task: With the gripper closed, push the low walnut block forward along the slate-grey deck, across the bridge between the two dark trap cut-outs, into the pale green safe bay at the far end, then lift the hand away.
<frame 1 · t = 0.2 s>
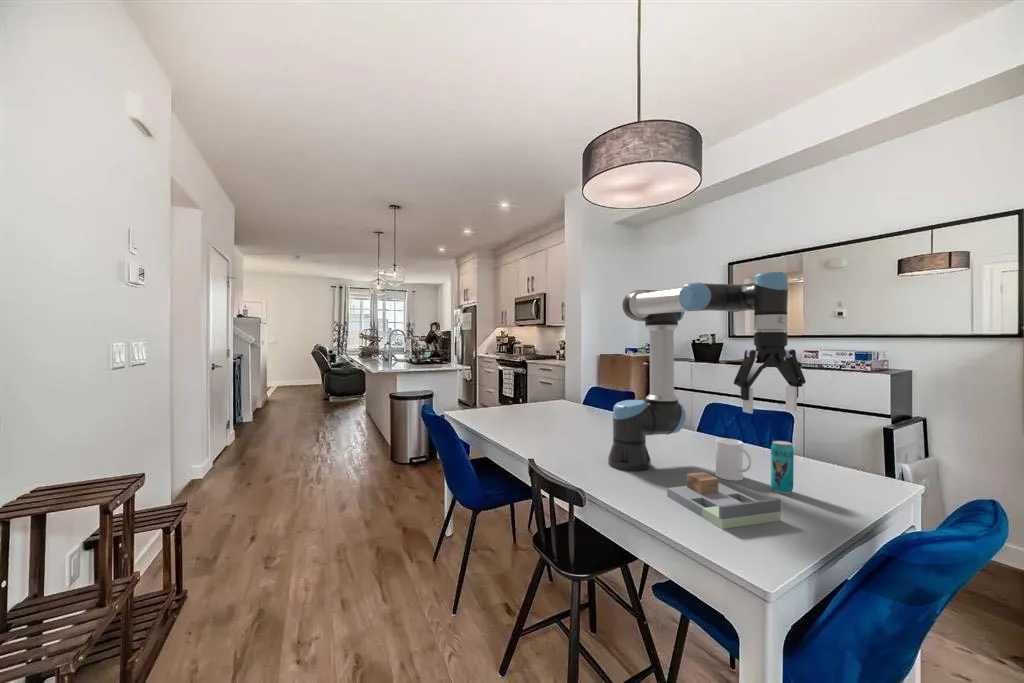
hand: (769, 411, 111), 28 cm above the table, fingers open, 13 cm apart
beverage can: (781, 492, 128), on the table
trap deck: (719, 507, 116), on the table
mug: (733, 478, 140), on the table
block: (702, 489, 123), point 2 cm above the table, touching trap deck
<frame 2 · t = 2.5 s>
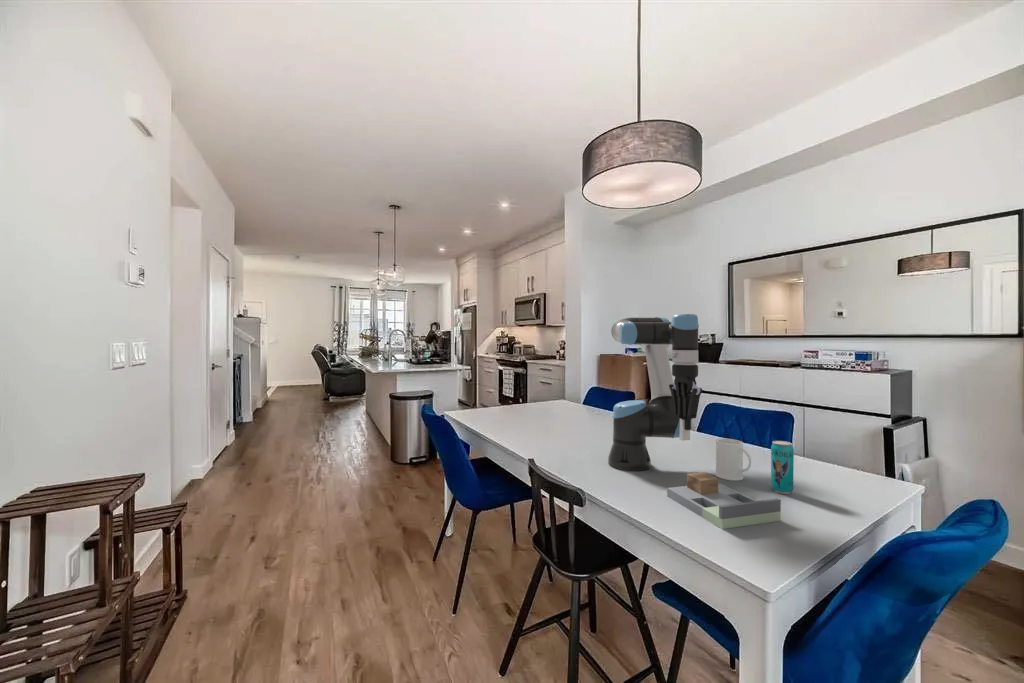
hand: (684, 439, 130), 15 cm above the table, fingers closed
nothing on the table moved.
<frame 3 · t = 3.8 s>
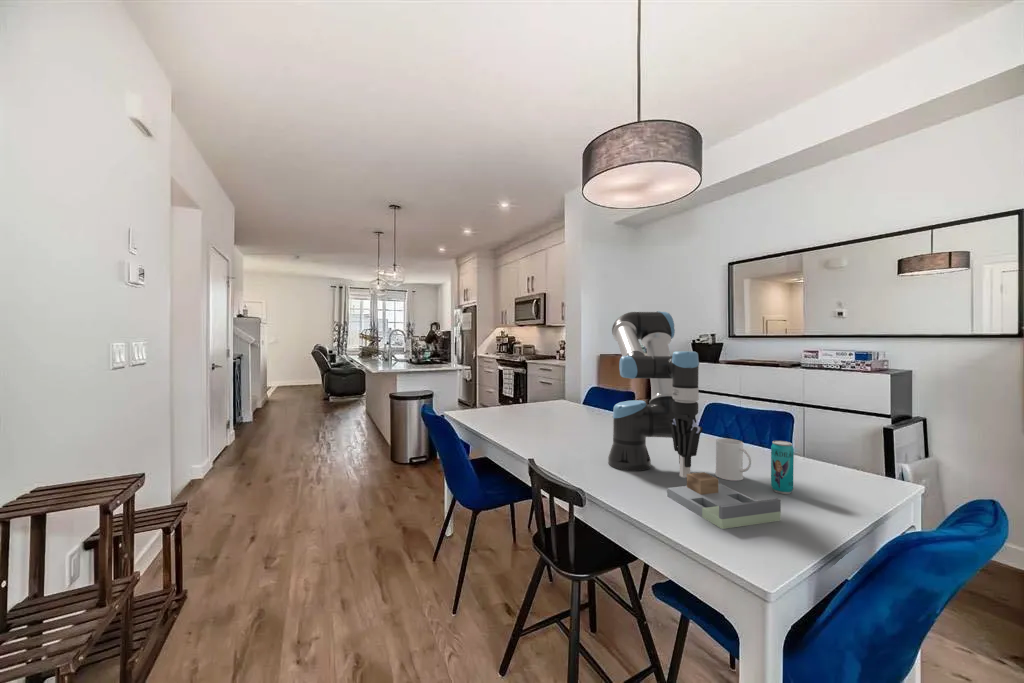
hand: (684, 476, 130), 4 cm above the table, fingers closed
nothing on the table moved.
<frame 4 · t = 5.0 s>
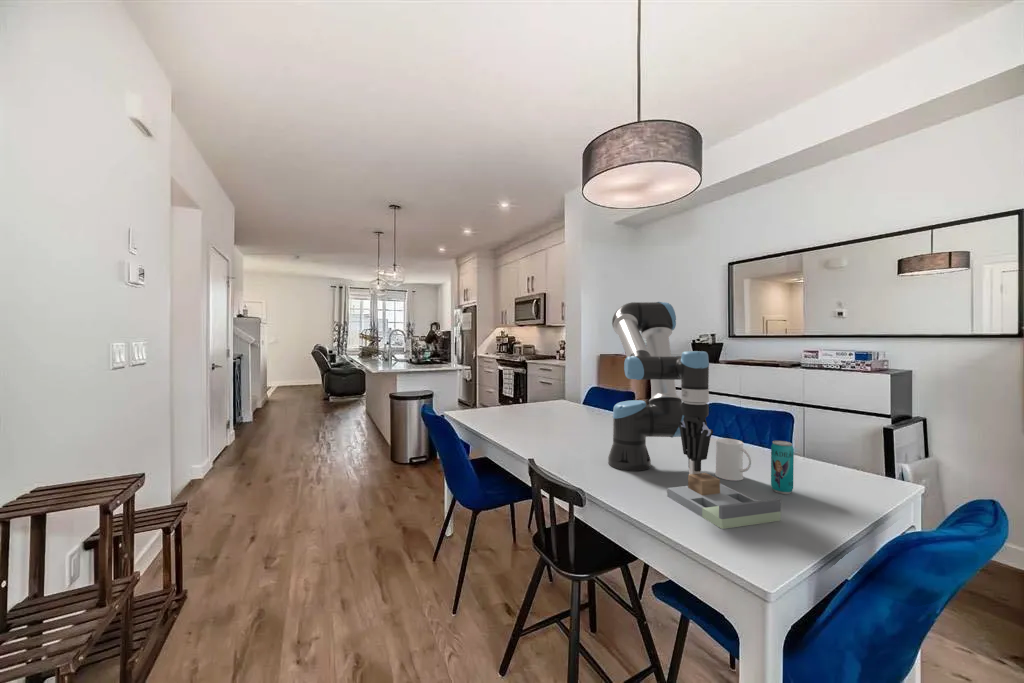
hand: (694, 480, 126), 4 cm above the table, fingers closed
nothing on the table moved.
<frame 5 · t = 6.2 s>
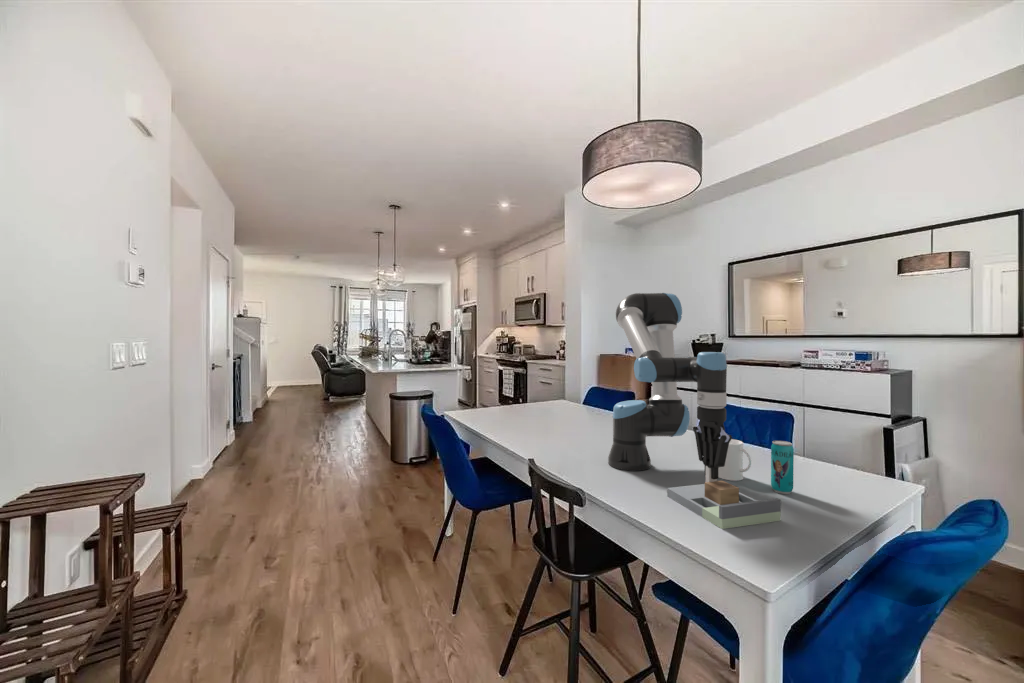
hand: (711, 488, 119), 4 cm above the table, fingers closed
block: (721, 499, 116), point 2 cm above the table, touching gripper
everything else where it was.
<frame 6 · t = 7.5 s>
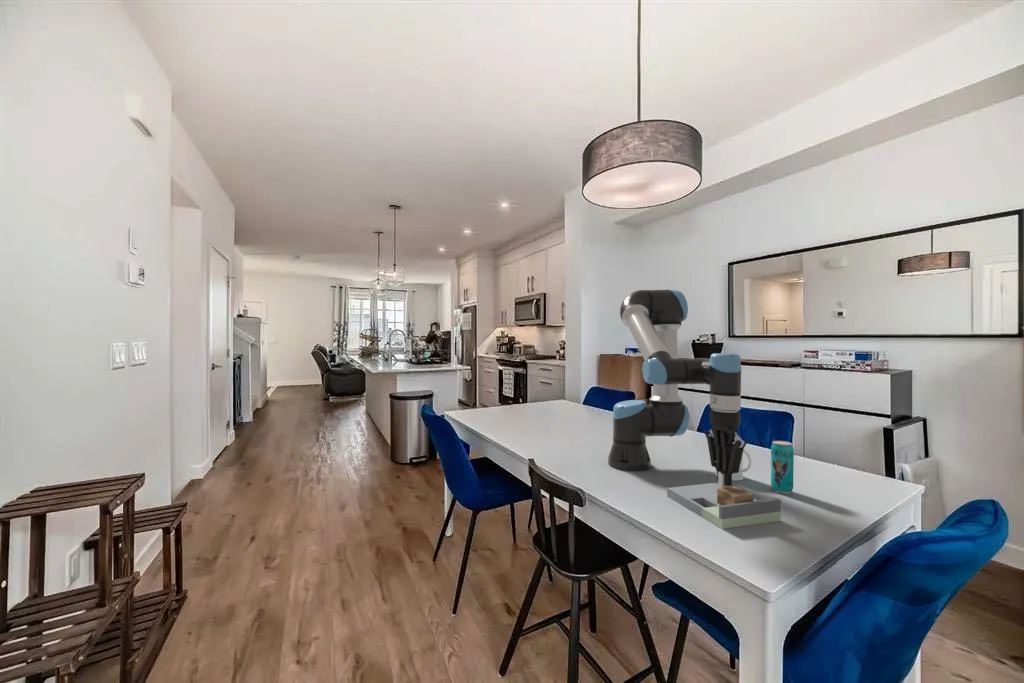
hand: (724, 495, 114), 4 cm above the table, fingers closed
block: (734, 506, 111), point 2 cm above the table, touching gripper, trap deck
everything else where it was.
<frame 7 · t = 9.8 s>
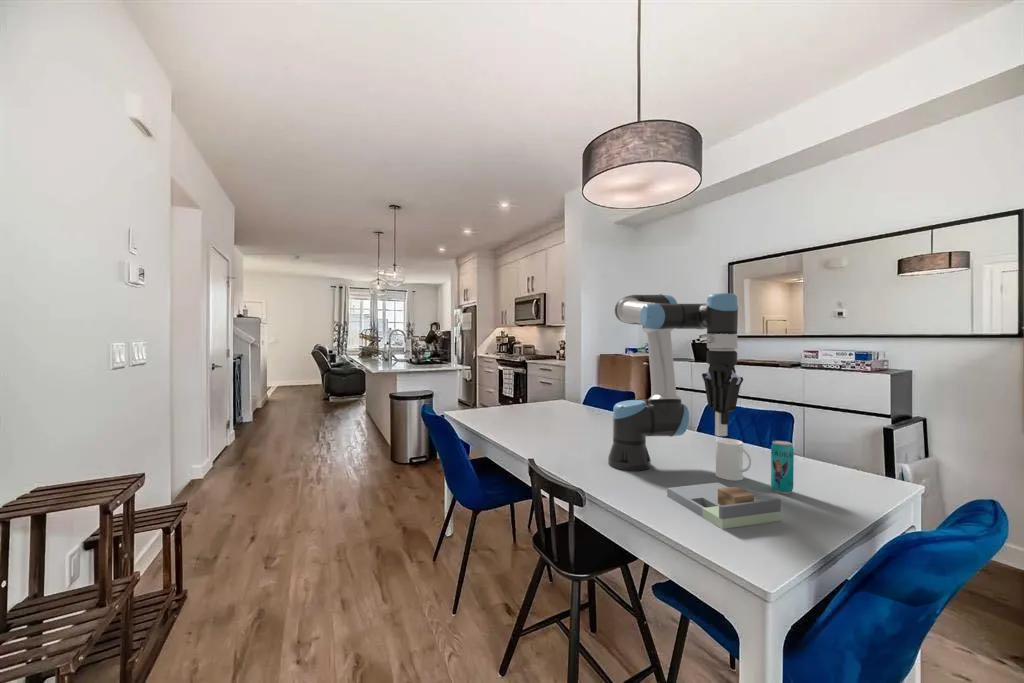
hand: (721, 435, 115), 20 cm above the table, fingers closed
block: (735, 506, 111), point 2 cm above the table, touching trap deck
everything else where it was.
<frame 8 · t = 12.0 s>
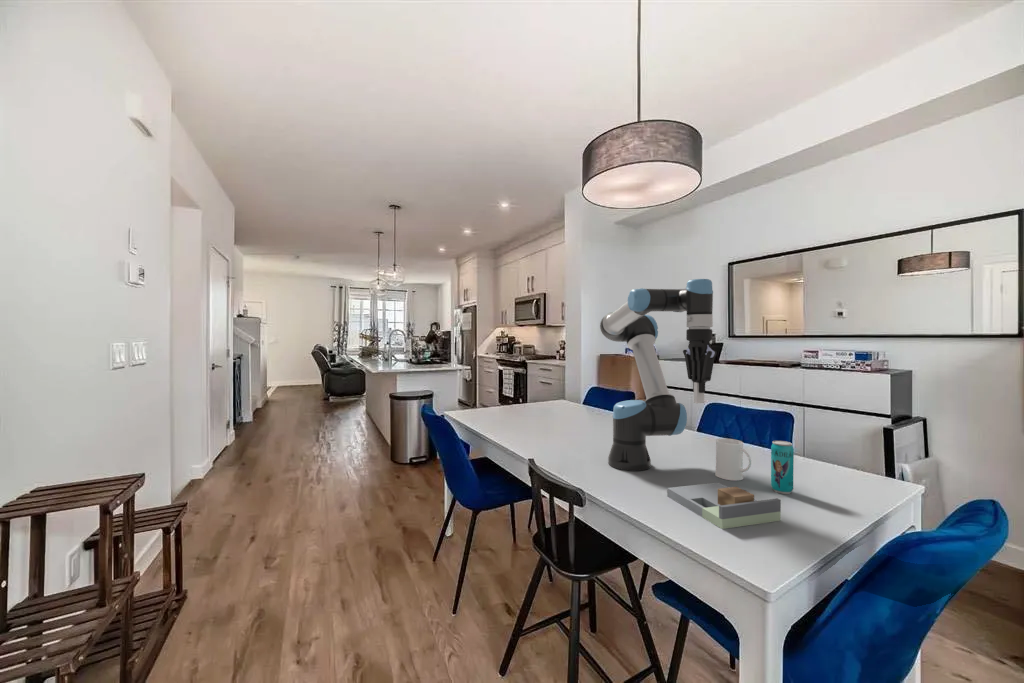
hand: (698, 402, 133), 26 cm above the table, fingers closed
nothing on the table moved.
at the end: block 1.9 cm from the target spot on the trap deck, point 2.4 cm above the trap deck's base; block tilted 0° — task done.
